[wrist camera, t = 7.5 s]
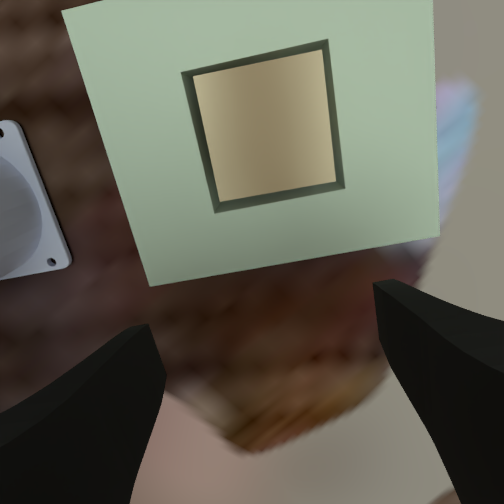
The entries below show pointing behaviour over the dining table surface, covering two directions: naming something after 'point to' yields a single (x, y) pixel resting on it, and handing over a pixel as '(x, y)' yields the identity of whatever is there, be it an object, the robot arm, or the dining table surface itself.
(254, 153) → the square peg
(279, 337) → the dining table surface
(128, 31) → the hole plate
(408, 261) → the dining table surface
